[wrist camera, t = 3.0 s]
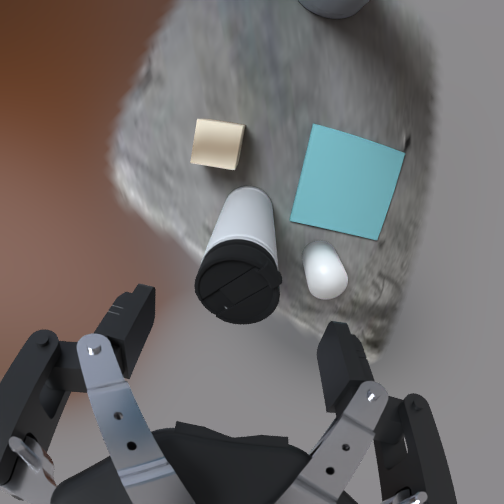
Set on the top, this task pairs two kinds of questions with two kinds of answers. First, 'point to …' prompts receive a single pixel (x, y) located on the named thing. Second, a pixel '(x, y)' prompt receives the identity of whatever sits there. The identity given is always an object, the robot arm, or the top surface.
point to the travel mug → (241, 260)
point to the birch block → (217, 143)
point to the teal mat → (346, 183)
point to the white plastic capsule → (323, 270)
